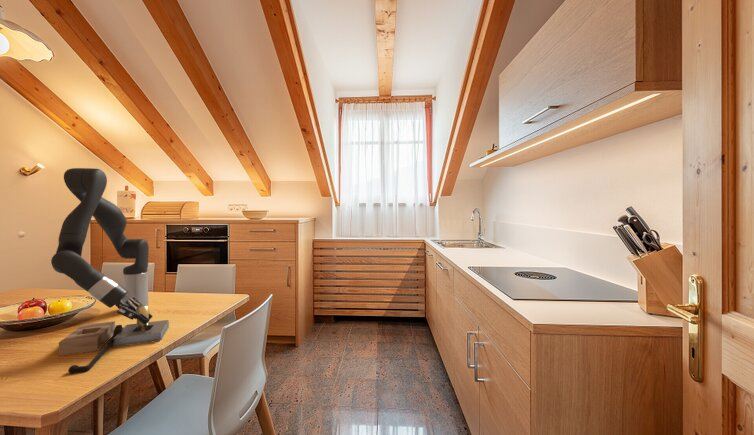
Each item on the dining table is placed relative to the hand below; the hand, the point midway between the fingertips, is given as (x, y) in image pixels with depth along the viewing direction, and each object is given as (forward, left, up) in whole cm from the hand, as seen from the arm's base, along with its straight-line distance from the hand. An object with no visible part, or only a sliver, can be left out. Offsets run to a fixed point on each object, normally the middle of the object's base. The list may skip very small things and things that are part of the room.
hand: (149, 320), depth 122 cm
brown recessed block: (0, -18, -6) cm, 19 cm away
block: (0, -2, -6) cm, 6 cm away
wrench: (+10, -12, -7) cm, 16 cm away
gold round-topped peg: (0, -2, -5) cm, 5 cm away
